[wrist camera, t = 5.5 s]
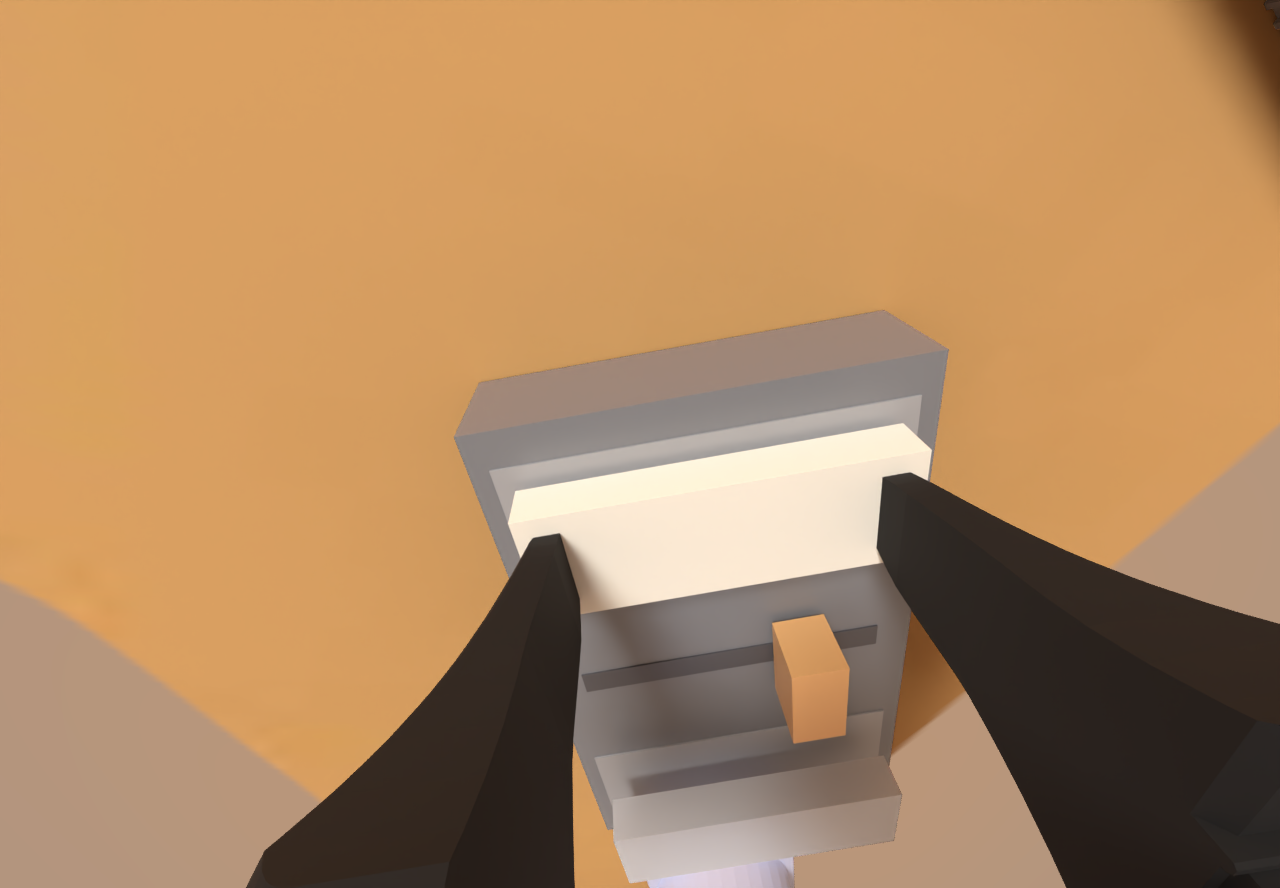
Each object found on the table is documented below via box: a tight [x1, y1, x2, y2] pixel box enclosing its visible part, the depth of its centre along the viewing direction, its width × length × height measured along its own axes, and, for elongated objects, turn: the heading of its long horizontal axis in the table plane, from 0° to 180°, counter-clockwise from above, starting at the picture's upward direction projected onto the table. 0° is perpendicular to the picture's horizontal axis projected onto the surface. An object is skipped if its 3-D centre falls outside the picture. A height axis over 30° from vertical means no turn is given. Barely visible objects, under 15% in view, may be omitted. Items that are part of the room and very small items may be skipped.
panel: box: [454, 310, 949, 830], centre depth 18 cm, size 18×11×3 cm, turn 9°
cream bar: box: [508, 423, 932, 614], centre depth 12 cm, size 3×9×1 cm, turn 99°
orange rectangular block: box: [772, 614, 850, 744], centre depth 15 cm, size 3×2×2 cm, turn 9°
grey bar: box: [613, 755, 902, 883], centre depth 18 cm, size 3×9×1 cm, turn 99°
